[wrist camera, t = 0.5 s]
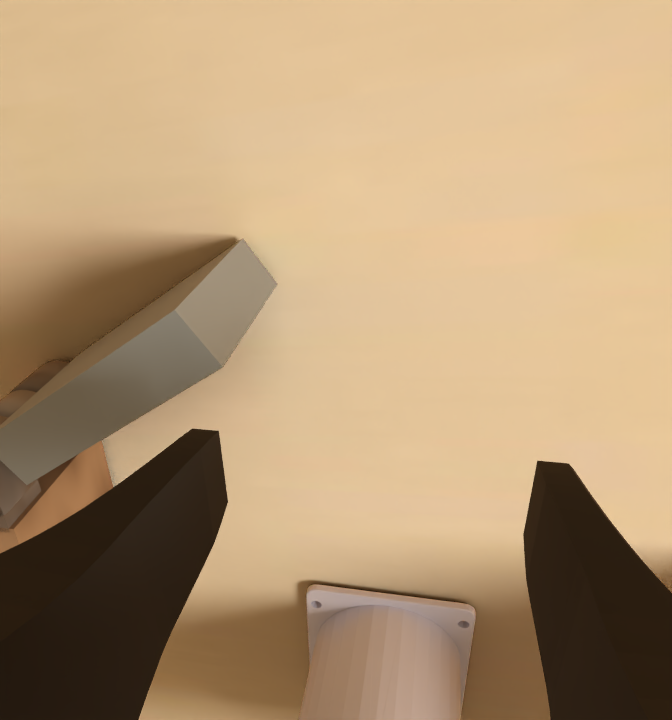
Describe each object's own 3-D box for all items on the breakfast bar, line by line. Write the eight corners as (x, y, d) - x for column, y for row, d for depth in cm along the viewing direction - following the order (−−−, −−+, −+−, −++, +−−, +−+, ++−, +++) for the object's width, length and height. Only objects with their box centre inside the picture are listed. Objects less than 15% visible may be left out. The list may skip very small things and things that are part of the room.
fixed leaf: (143, 575, 31) (81, 686, 26) (89, 567, 31) (17, 675, 26) (93, 363, 25) (-1, 453, 20) (26, 358, 25) (-83, 445, 20)
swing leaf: (71, 430, 27) (-20, 528, 22) (20, 380, 26) (-86, 470, 21) (286, 295, 22) (234, 381, 17) (233, 226, 21) (161, 295, 16)
